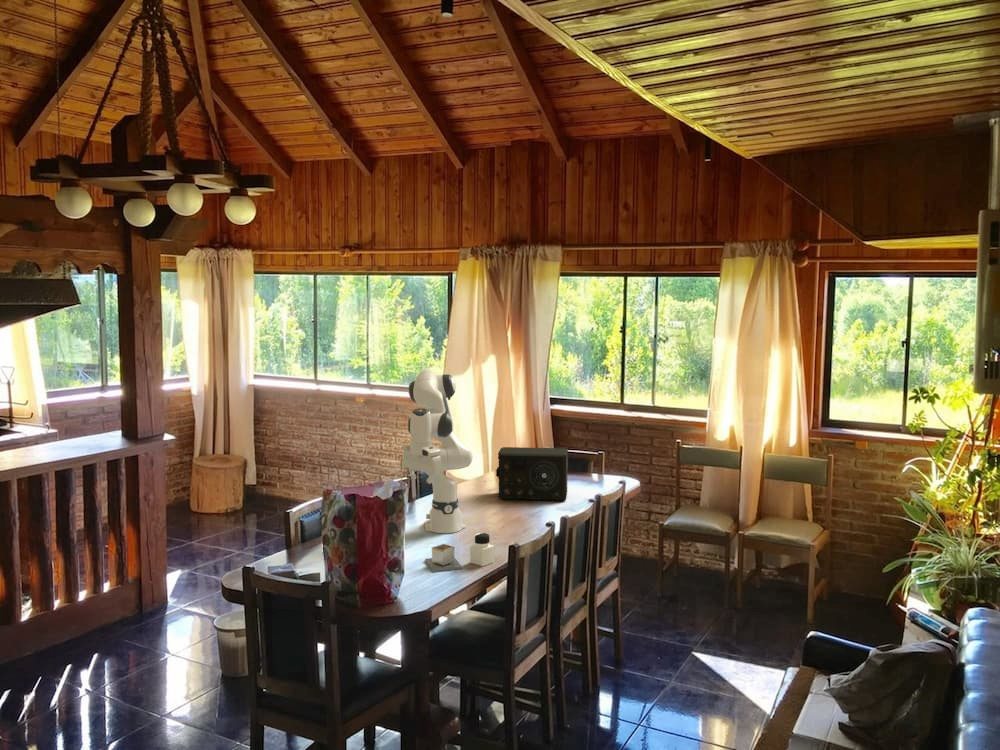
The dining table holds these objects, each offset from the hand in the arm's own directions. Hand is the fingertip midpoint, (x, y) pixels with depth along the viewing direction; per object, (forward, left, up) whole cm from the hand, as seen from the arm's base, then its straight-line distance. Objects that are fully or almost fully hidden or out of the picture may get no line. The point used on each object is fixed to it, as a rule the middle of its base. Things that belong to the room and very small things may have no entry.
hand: (421, 481), depth 360 cm
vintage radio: (-77, +76, -33) cm, 113 cm away
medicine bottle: (+14, +22, -33) cm, 42 cm away
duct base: (+12, +6, -33) cm, 35 cm away
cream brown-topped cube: (+12, +6, -31) cm, 34 cm away
